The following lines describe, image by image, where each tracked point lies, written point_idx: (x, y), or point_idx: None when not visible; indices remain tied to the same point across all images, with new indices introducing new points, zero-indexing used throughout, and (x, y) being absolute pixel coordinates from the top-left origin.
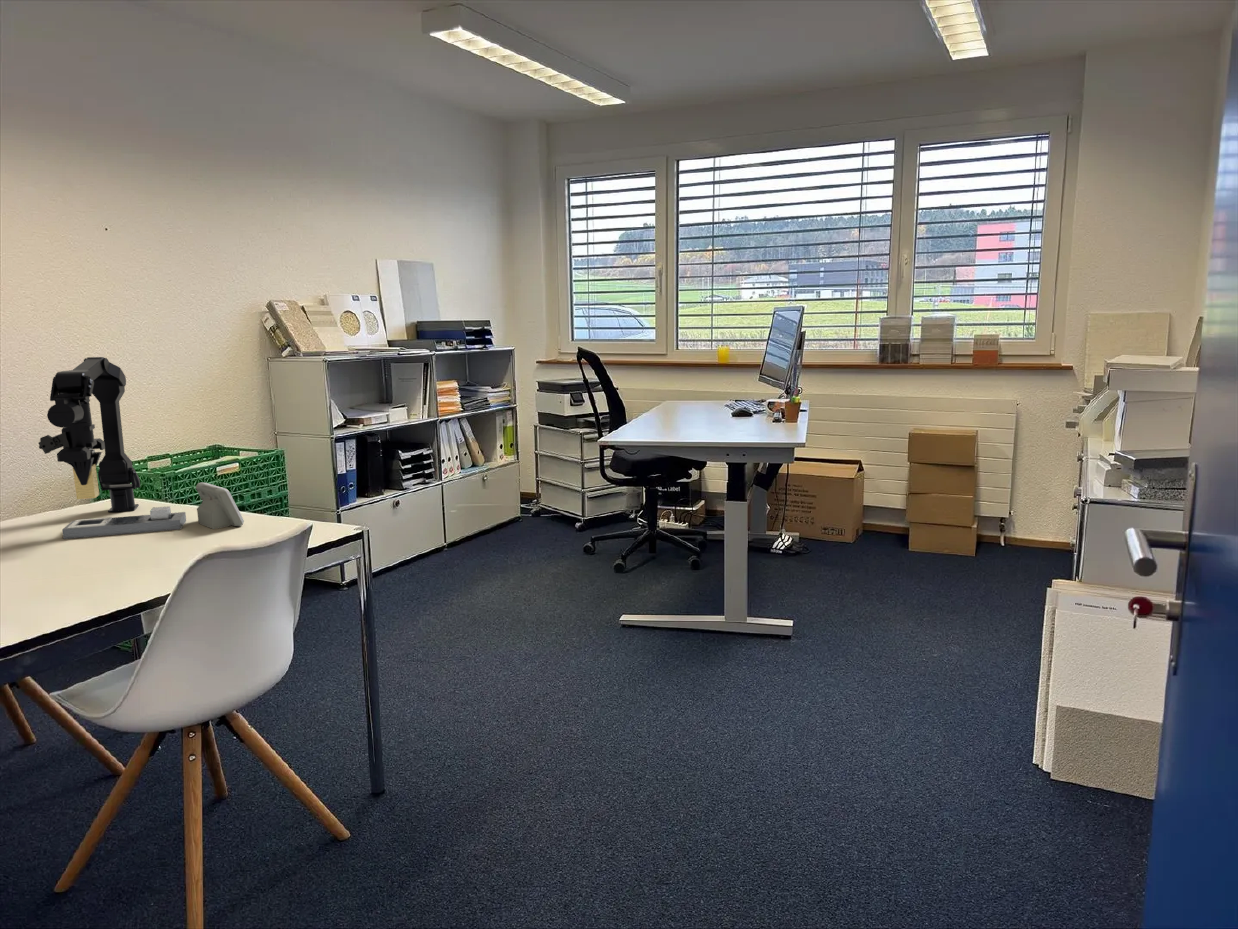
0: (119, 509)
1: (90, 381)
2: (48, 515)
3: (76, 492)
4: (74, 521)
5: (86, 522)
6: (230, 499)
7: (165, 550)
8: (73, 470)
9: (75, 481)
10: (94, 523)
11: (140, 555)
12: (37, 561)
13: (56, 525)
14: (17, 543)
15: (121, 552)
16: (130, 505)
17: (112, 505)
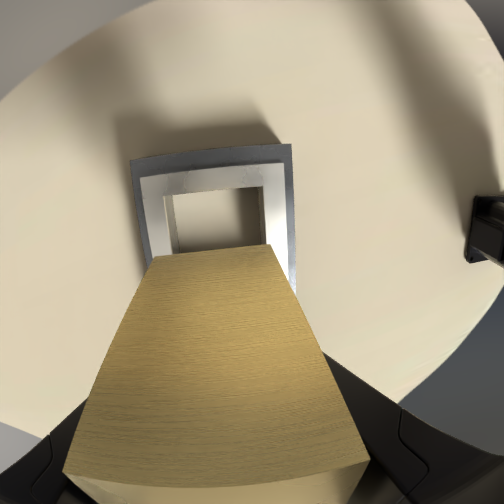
0: (472, 229)
1: None
2: (482, 46)
3: (143, 281)
4: (274, 155)
5: (262, 204)
6: None
7: (47, 416)
8: (78, 442)
9: (117, 342)
10: (264, 231)
11: (16, 387)
12: None
13: (376, 67)
14: (132, 26)
15: (21, 358)
16: (483, 255)
17: (493, 210)
